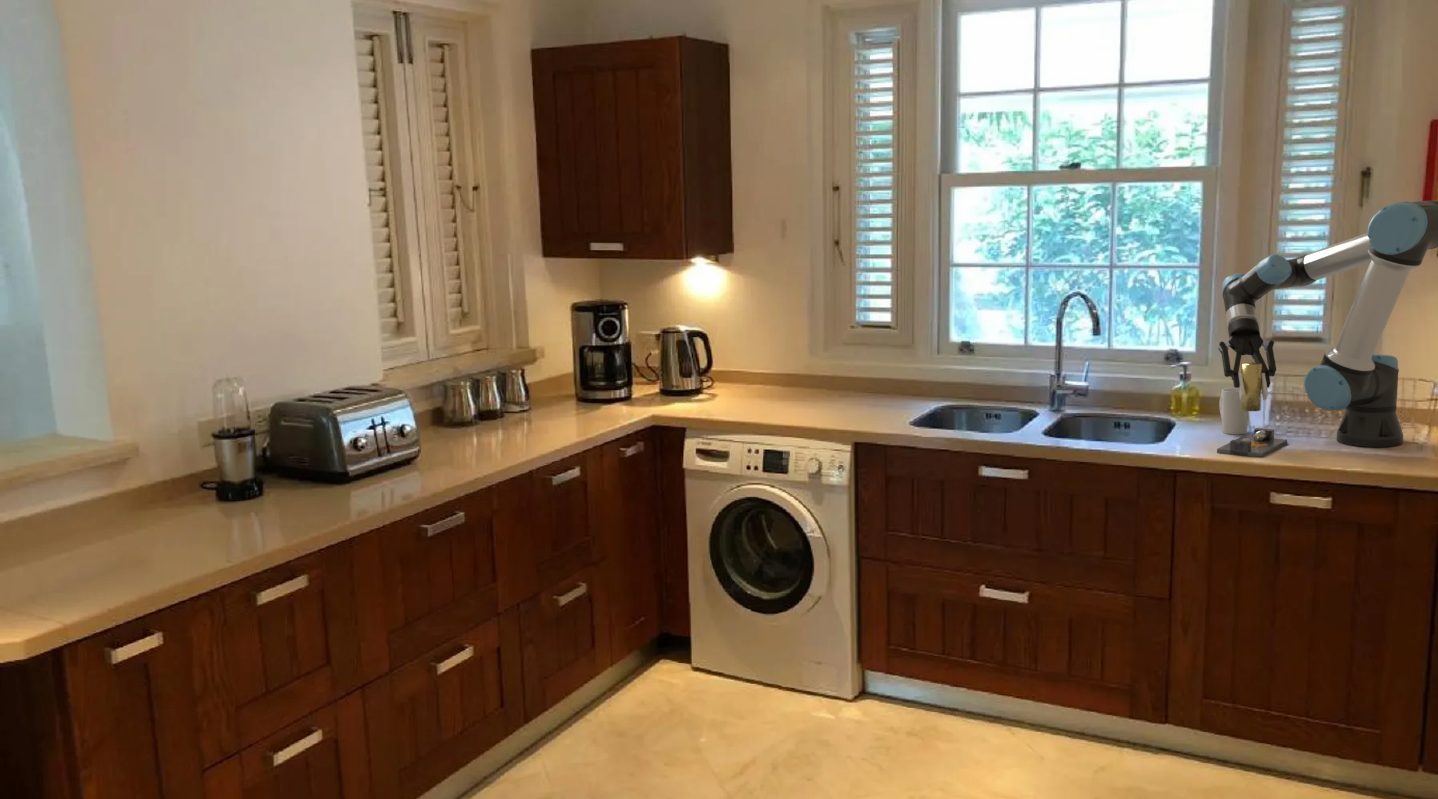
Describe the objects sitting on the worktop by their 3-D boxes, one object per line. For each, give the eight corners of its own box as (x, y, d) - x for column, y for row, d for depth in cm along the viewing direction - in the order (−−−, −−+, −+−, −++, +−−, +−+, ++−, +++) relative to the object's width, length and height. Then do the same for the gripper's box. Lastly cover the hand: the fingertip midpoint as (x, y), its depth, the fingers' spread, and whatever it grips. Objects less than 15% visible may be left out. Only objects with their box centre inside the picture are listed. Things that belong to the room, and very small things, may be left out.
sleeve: (1263, 408, 300) (1264, 363, 298) (1256, 411, 297) (1258, 365, 294) (1244, 407, 303) (1245, 362, 301) (1237, 410, 300) (1238, 364, 298)
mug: (1253, 433, 318) (1254, 390, 316) (1231, 435, 316) (1231, 392, 314) (1230, 427, 327) (1231, 385, 325) (1209, 429, 326) (1209, 387, 324)
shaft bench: (1243, 439, 311) (1244, 426, 311) (1287, 443, 304) (1287, 430, 303) (1216, 452, 298) (1217, 439, 297) (1261, 457, 290) (1261, 444, 290)
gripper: (1276, 333, 309) (1289, 404, 296) (1205, 334, 314) (1214, 405, 301) (1281, 315, 303) (1294, 388, 290) (1209, 317, 308) (1218, 388, 295)
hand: (1254, 396), depth 296 cm, fingers closed on sleeve, 5 cm apart
